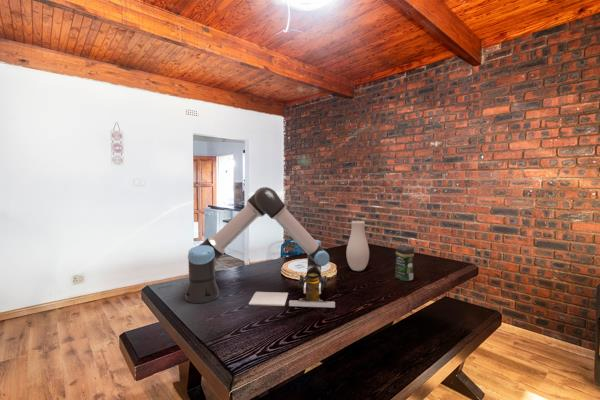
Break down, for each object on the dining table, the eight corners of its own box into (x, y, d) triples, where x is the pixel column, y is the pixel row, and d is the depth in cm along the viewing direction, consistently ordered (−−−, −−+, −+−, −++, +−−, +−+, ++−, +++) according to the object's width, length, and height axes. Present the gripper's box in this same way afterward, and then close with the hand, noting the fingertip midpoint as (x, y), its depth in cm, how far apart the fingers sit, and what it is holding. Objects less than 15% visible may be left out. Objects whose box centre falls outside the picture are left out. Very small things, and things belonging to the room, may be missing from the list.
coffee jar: (392, 277, 170) (393, 245, 168) (402, 275, 173) (403, 243, 172) (405, 282, 161) (405, 248, 160) (415, 280, 164) (416, 247, 163)
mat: (248, 304, 132) (248, 303, 132) (255, 292, 146) (255, 291, 146) (284, 305, 131) (284, 304, 131) (288, 293, 145) (288, 292, 145)
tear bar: (289, 306, 131) (289, 301, 131) (289, 304, 132) (289, 300, 132) (334, 307, 129) (334, 303, 129) (334, 306, 131) (334, 301, 131)
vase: (341, 268, 187) (342, 220, 185) (359, 265, 193) (360, 219, 191) (354, 274, 175) (355, 223, 173) (373, 271, 180) (374, 222, 178)
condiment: (323, 301, 136) (323, 275, 135) (307, 305, 132) (307, 278, 131) (313, 295, 142) (313, 271, 142) (298, 299, 138) (298, 274, 137)
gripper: (332, 281, 154) (333, 299, 131) (295, 280, 155) (290, 298, 132) (332, 267, 153) (333, 282, 130) (295, 266, 155) (290, 281, 132)
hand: (312, 290), depth 131 cm, fingers closed on condiment, 6 cm apart
